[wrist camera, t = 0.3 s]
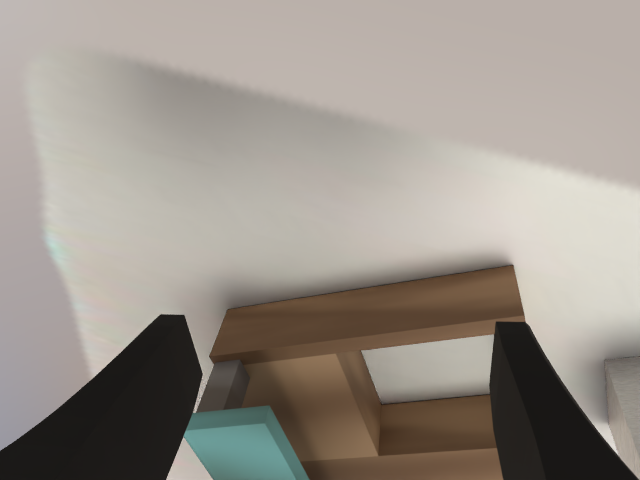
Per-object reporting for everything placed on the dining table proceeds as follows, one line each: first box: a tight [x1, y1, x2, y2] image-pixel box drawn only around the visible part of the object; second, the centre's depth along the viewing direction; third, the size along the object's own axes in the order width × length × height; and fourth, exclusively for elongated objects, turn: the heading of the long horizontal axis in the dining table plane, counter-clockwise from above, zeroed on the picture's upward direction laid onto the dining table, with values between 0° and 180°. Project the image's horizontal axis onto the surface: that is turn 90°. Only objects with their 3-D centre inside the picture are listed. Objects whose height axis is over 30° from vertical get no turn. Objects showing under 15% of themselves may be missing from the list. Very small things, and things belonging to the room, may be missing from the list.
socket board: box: [184, 265, 525, 480], centre depth 25 cm, size 11×13×7 cm
